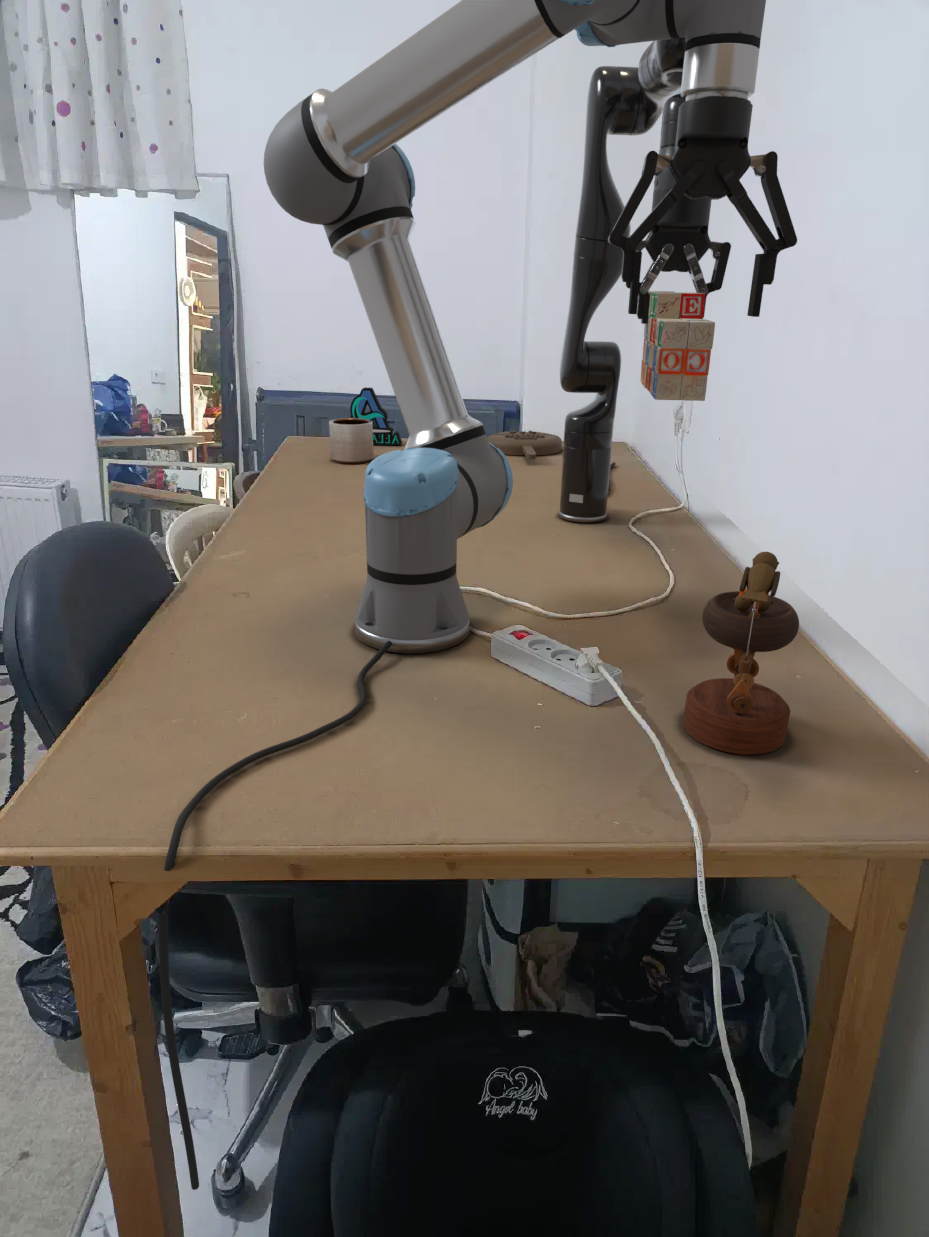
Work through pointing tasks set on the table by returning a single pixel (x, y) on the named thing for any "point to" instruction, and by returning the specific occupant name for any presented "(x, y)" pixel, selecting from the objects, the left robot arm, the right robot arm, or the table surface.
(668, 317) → the stack of blocks
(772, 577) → the music box
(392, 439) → the decorative sign
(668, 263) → the right robot arm
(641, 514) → the table surface
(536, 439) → the ice cream bar
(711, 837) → the table surface
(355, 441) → the planter
